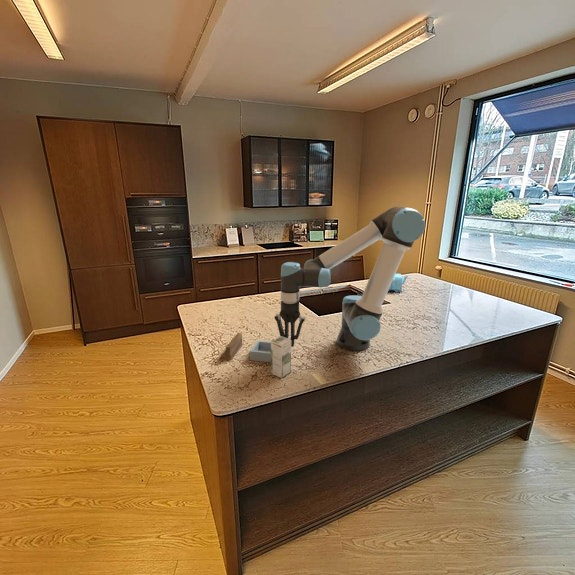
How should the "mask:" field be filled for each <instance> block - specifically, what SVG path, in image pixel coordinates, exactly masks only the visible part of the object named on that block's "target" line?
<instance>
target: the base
mask: <svg viewBox="0 0 575 575" xmlns="http://www.w3.org/2000/svg"><path fill="white" fill-rule="evenodd" d="M242 346H243V333H242V332H241V333H240V332H237V334H235V335H234V336H233V338H232V339H231V340H230V341H229V343H228V344H227V345H226V346H225V350H224V351H223V353H222V354H220V356H219V359H220V360H224V361H225V360H226V361H232V360H233V358H234V357H235V356H236V355H237V353H238V352H239V351H240V349H241V348H242Z"/></svg>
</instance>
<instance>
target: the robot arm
mask: <svg viewBox="0 0 575 575" xmlns="http://www.w3.org/2000/svg"><path fill="white" fill-rule="evenodd" d="M425 229H426V221H425V218H424V216H423V215H422V213H421V212H419V211H418V210H417V209H414V208H413V207H412V208H411V207H403V206H394V207H393V206H392V207H391V208H388V209H387V210H385V211H383V212H382V213H380V214H379V215H378V216H376V217H375V218H373V219H371V220H370V221H369V223H368V225H366V226H364V227H363V228H362V229H359V230H358V231H356V232H355V233H353V234H352V235H351V236H349V237H347V238H345V239H344V240H342V241H341V242H339V243H337V244H336V245H334V246H333V247H331V248H329V249H328V250H326V251H324V252H323V253H321V254H320V255H318V256H317V257H315V258H314V259H312V258H311V259H308V260H306V261H305V263H304V264H303V267H301V264H300V263H299V262H293V261H288V262H284V263H282V265H281V266H280V300H281V301H280V311H279V313H278V314H275V315H274V320H275V322H276V323H277V324H276V325H277V329H278V332H279V335H280V336H282V337H285V338H288V339H290V340H291V353H292V352H293V348H294V345H295V340H299V336H300V334H301V330H302V328H303V324H304V322H305V321H306V317H305V316H302V315H301V313H300V290H301V289H300V288H327V287H329V286H330V285H331V269H333V268H334V267H336V266H338V265H340V264H341V263H343V262H344V261H347V260H348V259H349V258H351V257H353V256H354V255H356V254H358V253H359V252H361V251H362V250H364V249H366V248H367V247H370V246H371V245H373V244H374V243H376V242H377V241H382V242H383V244H382V246H381V249H380V252H379V254H378V256H377V259H376V262H375V264H374V266H373V269H372V271H371V274H370V276H369V278H368V280H367V283H366V286H365V288H364V291H363V293H362V295H356V294H355V295H347V296H344V297H343V299H342V303H341V305H342V308H341V309H342V310H341V327H340V330H339V332H338V335H337V337H336V343H337V345H338V346H339V347H340V348H342V349H344V350H347V351H355V352H357V351H363V350H364V351H365V350H367V349H369V347H370V344H371V340H372V339H374V338H376V337H377V336H378V335H379V333H380V332H381V322H380V320H381V318H382V315H383V313H384V310H383V308H382V305H383V303H384V301H385V299H386V296H387V294H388V293H389V292H388V290H389V287H390V285H391V283H392V281H393V278H394V276H395V274H397V271H398V269H399V267H400V264H401V262H402V259H403V258H404V256H405V253H406V251H409V250H410V249H412V247H413V245H414V243H415V241H417V240H419V239H420V238H421V237H422V236H423V234H424V232H425ZM389 291H390V290H389ZM282 320H283V321H284V327H283V322H282ZM296 321H299V323H298V326H297V329H296ZM289 326H290V327H289ZM289 328H290V330H289ZM295 330H296V331H295ZM289 331H290V332H289ZM295 332H296V333H295ZM289 333H290V334H289ZM280 336H279V337H280Z"/></svg>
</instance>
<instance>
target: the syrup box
mask: <svg viewBox="0 0 575 575" xmlns="http://www.w3.org/2000/svg"><path fill="white" fill-rule="evenodd" d="M288 338H289V337H288ZM288 338H285V337H282V336H278V337H276V338H274V339H272V340H270V342H271V362H270V374H271V375H274V376H275V377H278V378H281V379H283V378H284V377H287V375H289V374H290V373H291V371H292V370H291V369H292V352H291V340H290V339H288Z"/></svg>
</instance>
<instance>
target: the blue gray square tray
mask: <svg viewBox="0 0 575 575" xmlns="http://www.w3.org/2000/svg"><path fill="white" fill-rule="evenodd" d="M249 361H258V362H264V363H271V341H269V340H268V341H267V340H256V341H255V343H254V345H253V346H252V347H251V349H250V351H249Z"/></svg>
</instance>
